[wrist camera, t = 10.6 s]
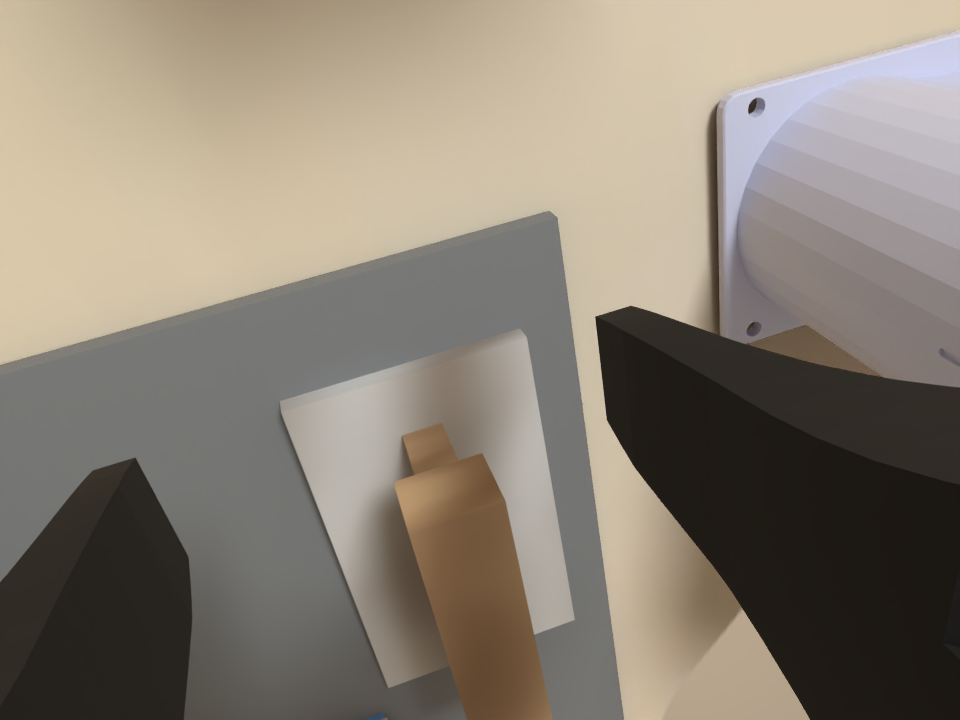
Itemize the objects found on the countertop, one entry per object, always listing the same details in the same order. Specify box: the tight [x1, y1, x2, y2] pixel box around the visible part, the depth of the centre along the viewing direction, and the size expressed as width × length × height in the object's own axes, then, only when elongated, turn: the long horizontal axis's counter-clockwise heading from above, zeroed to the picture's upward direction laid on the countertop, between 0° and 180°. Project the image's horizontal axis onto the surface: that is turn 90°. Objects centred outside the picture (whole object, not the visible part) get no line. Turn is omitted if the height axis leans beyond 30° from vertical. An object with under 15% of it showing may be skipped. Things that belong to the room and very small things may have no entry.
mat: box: [0, 211, 624, 720], centre depth 26 cm, size 21×26×1 cm
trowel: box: [280, 329, 575, 720], centre depth 22 cm, size 7×12×5 cm, turn 11°
